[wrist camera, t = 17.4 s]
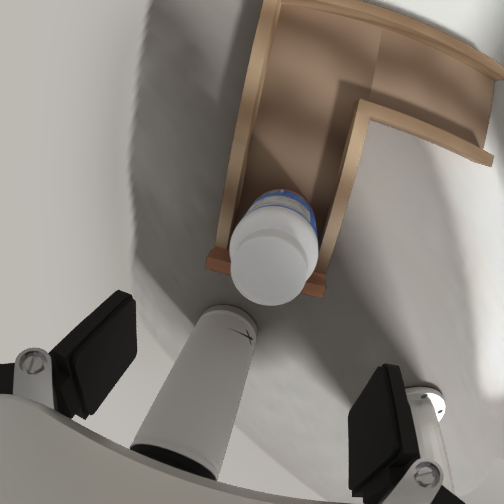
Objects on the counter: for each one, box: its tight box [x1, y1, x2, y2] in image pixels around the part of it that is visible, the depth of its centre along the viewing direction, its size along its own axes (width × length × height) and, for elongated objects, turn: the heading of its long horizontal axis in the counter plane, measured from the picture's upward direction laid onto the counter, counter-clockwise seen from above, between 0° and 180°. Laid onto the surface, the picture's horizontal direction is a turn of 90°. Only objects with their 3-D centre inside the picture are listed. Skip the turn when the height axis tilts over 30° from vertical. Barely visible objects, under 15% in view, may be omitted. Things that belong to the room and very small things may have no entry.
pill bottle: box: [229, 189, 318, 306], centre depth 20 cm, size 6×5×10 cm
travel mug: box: [130, 305, 258, 481], centre depth 22 cm, size 6×7×20 cm
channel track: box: [205, 0, 504, 298], centre depth 20 cm, size 22×20×5 cm
